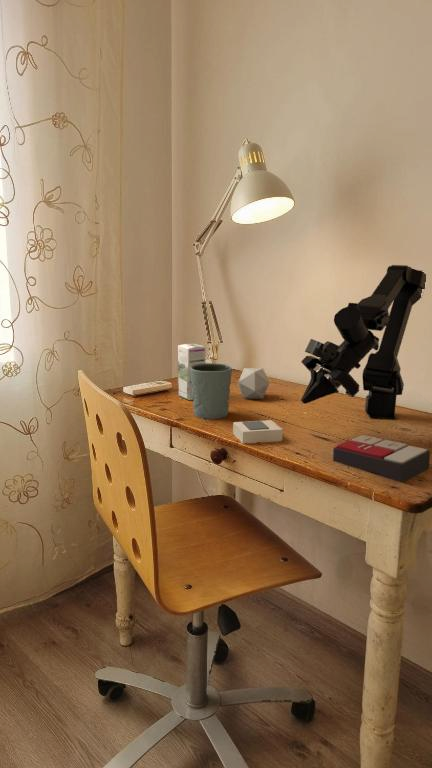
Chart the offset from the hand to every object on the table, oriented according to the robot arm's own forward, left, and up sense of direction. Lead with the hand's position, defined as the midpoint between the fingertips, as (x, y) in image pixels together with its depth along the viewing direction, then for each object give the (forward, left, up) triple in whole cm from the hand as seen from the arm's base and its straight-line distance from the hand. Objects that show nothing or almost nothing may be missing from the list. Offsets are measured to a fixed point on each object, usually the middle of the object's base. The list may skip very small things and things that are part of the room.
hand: (302, 402), depth 128 cm
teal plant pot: (+21, -14, -8) cm, 26 cm away
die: (+10, -32, -8) cm, 34 cm away
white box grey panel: (+6, +2, -6) cm, 9 cm away
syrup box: (+27, -30, -8) cm, 41 cm away
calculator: (-14, +17, -8) cm, 23 cm away
